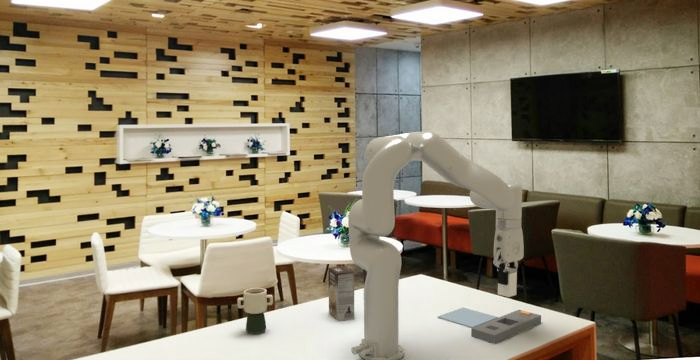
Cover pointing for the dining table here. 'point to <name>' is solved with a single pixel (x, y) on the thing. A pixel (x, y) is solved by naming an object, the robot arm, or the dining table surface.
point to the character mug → (255, 308)
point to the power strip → (505, 326)
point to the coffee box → (341, 293)
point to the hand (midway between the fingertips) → (507, 282)
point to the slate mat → (467, 317)
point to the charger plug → (509, 284)
